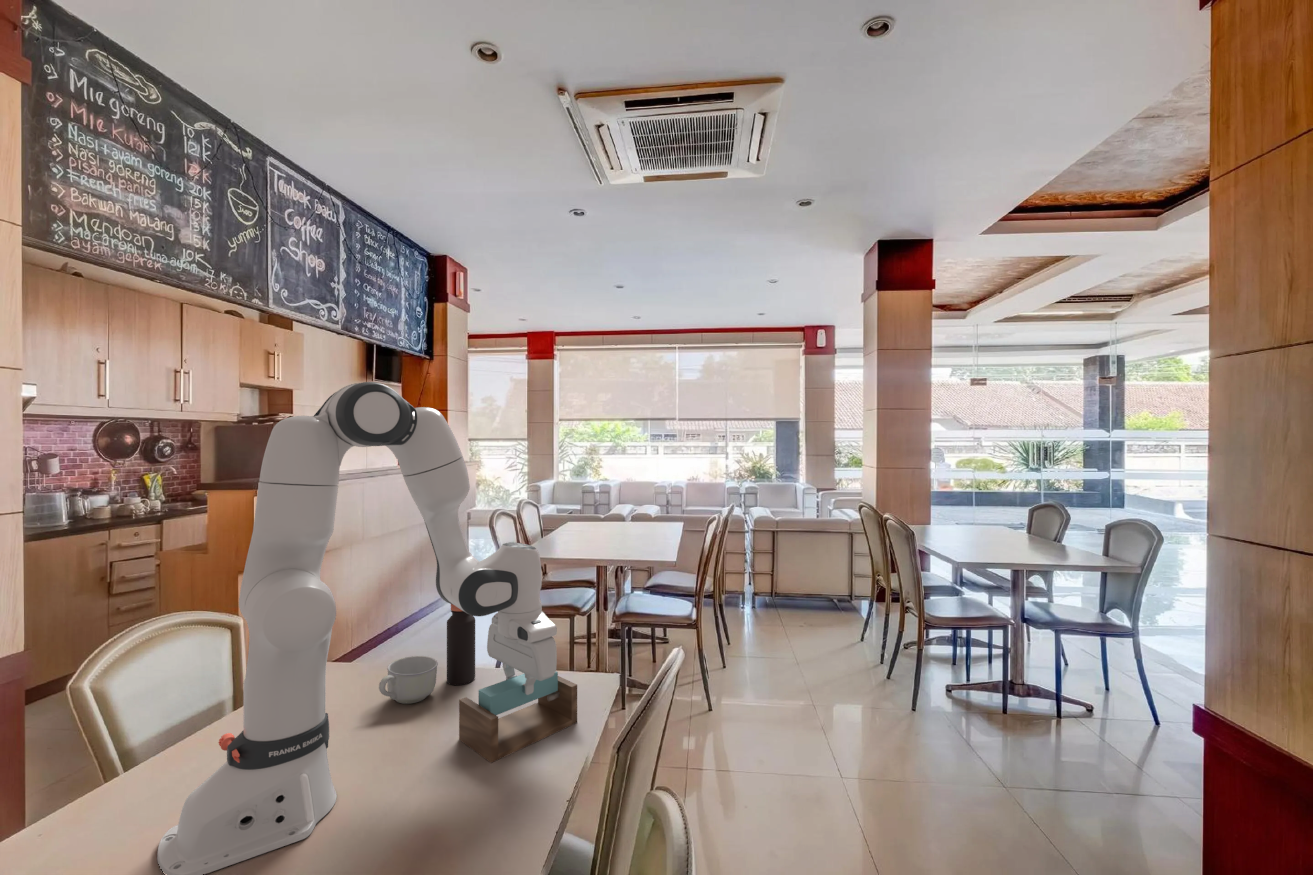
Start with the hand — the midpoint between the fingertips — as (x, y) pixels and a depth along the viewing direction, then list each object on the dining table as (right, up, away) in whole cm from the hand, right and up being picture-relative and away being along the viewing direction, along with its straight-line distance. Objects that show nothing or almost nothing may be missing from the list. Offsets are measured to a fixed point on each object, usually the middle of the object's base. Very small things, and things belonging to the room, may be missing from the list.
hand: (519, 688), depth 116 cm
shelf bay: (0, -9, 0) cm, 9 cm away
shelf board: (0, -2, 0) cm, 2 cm away
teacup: (-29, -9, +14) cm, 34 cm away
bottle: (-21, -9, +25) cm, 33 cm away
